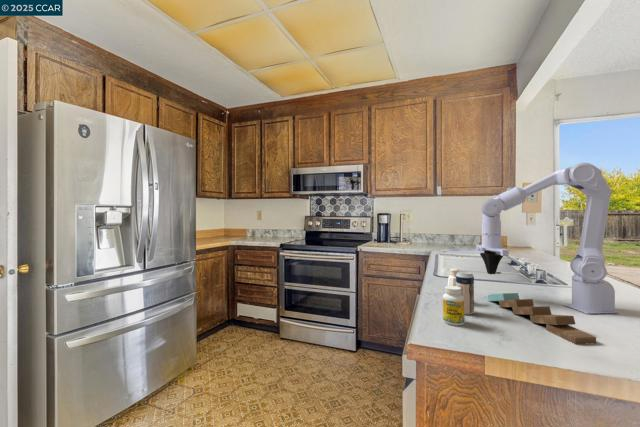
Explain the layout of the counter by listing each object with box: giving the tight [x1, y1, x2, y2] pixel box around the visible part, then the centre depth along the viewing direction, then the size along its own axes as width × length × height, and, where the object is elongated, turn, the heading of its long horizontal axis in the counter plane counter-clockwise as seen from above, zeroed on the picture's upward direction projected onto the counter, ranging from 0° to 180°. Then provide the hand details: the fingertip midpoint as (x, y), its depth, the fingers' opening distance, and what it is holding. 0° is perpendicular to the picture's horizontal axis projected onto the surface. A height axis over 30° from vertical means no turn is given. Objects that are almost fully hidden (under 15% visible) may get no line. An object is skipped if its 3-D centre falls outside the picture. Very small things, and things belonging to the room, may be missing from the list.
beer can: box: [456, 270, 475, 316], centre depth 87 cm, size 5×5×12 cm
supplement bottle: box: [442, 285, 466, 327], centre depth 80 cm, size 5×5×10 cm
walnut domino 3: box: [529, 313, 576, 326], centre depth 76 cm, size 2×5×8 cm
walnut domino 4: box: [545, 324, 597, 345], centre depth 71 cm, size 2×5×8 cm
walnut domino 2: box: [511, 305, 552, 316], centre depth 83 cm, size 2×5×8 cm
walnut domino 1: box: [498, 298, 535, 308], centre depth 89 cm, size 2×5×8 cm
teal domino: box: [487, 292, 520, 302], centre depth 95 cm, size 2×5×8 cm
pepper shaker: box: [447, 268, 460, 286], centre depth 97 cm, size 5×5×11 cm
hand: (491, 273), depth 101 cm, fingers closed
